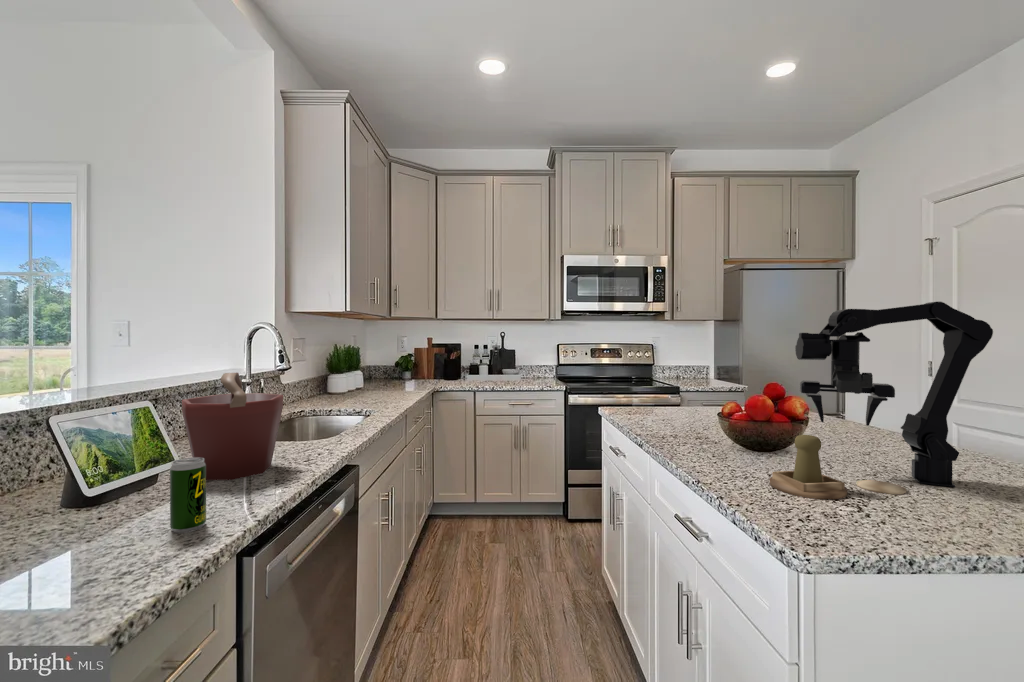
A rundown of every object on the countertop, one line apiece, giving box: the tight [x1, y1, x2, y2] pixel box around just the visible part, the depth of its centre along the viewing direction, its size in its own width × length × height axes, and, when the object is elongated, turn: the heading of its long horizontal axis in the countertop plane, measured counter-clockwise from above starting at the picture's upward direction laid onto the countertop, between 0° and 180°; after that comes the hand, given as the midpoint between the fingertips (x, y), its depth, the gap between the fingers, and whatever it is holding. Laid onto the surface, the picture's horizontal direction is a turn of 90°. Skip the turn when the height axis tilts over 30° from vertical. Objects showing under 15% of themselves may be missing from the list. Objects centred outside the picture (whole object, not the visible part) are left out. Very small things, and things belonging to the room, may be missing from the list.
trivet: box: [769, 470, 848, 500], centre depth 109 cm, size 15×15×3 cm
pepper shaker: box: [793, 434, 823, 483], centre depth 109 cm, size 6×6×11 cm
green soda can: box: [169, 457, 207, 534], centre depth 86 cm, size 5×5×12 cm
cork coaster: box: [856, 479, 907, 495], centre depth 110 cm, size 9×9×1 cm
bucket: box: [181, 372, 284, 481], centre depth 122 cm, size 24×22×25 cm
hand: (844, 423), depth 119 cm, fingers open, 9 cm apart
